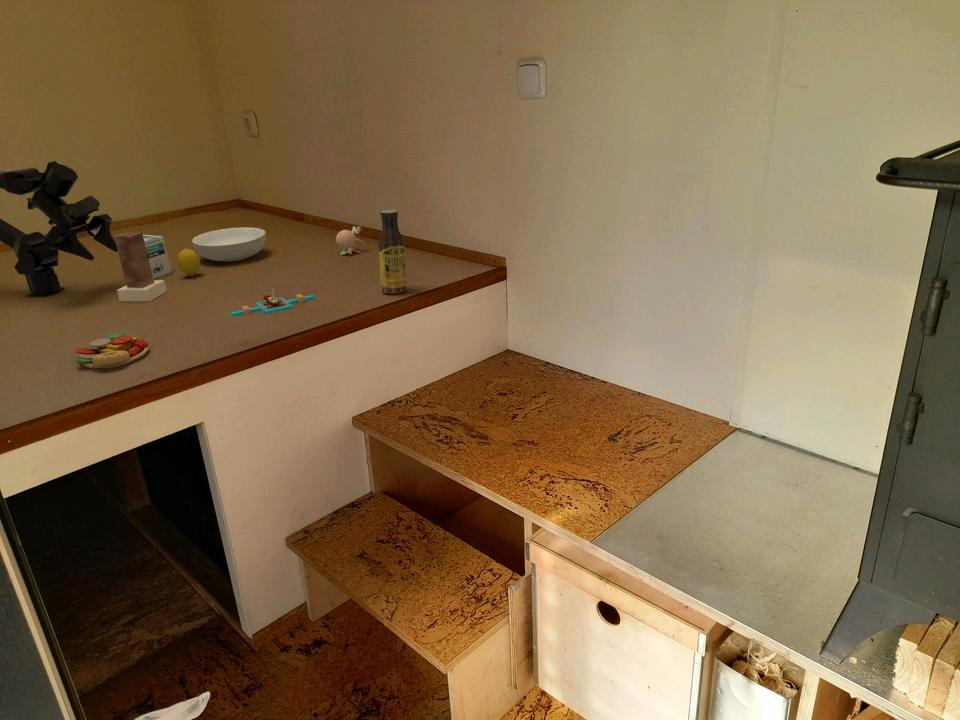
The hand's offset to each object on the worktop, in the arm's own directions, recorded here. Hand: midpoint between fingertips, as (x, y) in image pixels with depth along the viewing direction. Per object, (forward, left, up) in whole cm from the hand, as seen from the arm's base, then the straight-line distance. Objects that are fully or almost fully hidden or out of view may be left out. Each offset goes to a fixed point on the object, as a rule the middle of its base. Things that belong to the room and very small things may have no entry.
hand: (105, 254), depth 174 cm
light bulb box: (-2, +18, -11) cm, 21 cm away
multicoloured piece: (+46, -8, -11) cm, 48 cm away
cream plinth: (+8, -1, -11) cm, 13 cm away
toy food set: (+25, -39, -11) cm, 48 cm away
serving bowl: (+15, +35, -11) cm, 40 cm away
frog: (+50, +40, -11) cm, 65 cm away
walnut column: (+8, -1, -8) cm, 11 cm away
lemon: (+12, +16, -11) cm, 23 cm away
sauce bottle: (+73, +3, -11) cm, 74 cm away
